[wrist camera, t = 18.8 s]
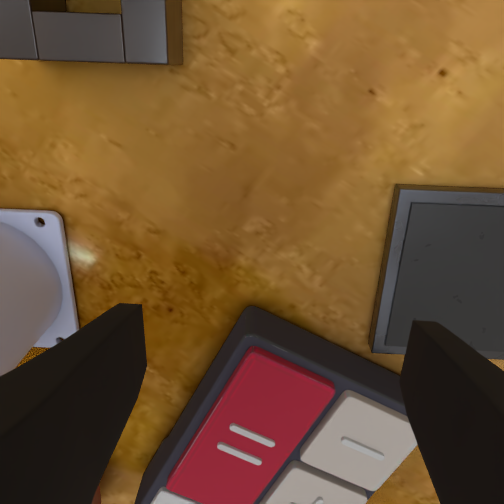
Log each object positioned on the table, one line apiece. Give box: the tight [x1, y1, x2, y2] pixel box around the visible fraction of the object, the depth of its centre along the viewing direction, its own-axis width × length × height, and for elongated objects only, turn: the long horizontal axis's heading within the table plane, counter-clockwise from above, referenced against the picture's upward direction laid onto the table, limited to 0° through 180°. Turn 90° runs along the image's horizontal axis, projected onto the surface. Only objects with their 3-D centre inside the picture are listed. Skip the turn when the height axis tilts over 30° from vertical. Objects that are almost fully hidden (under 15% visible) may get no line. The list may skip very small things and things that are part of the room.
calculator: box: [135, 306, 417, 504], centre depth 25 cm, size 11×4×15 cm
